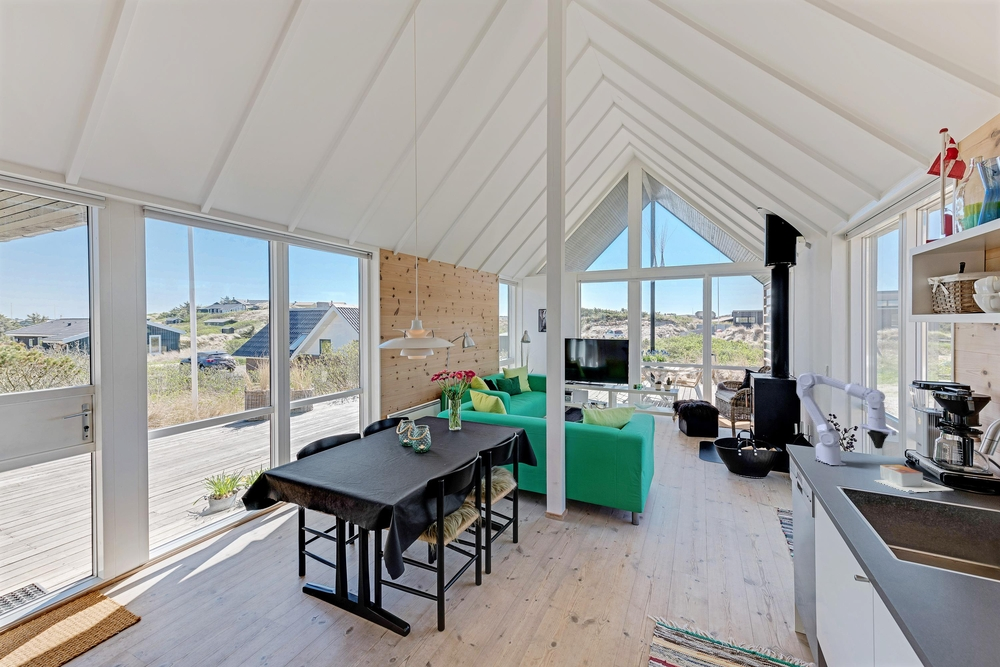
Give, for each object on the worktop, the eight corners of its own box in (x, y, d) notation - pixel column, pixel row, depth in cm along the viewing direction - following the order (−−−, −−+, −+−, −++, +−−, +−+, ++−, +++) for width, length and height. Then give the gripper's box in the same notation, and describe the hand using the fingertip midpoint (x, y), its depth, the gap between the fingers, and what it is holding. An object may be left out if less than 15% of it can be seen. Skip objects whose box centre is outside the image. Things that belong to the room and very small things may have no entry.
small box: (899, 464, 171) (923, 472, 160) (900, 477, 170) (924, 486, 160) (879, 464, 171) (901, 472, 161) (880, 478, 171) (902, 487, 161)
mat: (874, 481, 169) (874, 480, 169) (914, 478, 170) (914, 477, 170) (909, 493, 155) (909, 492, 155) (953, 490, 156) (953, 489, 156)
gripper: (902, 420, 173) (904, 451, 173) (869, 414, 187) (871, 443, 187) (886, 421, 173) (888, 452, 172) (855, 415, 187) (857, 444, 187)
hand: (878, 448), depth 180 cm, fingers closed
